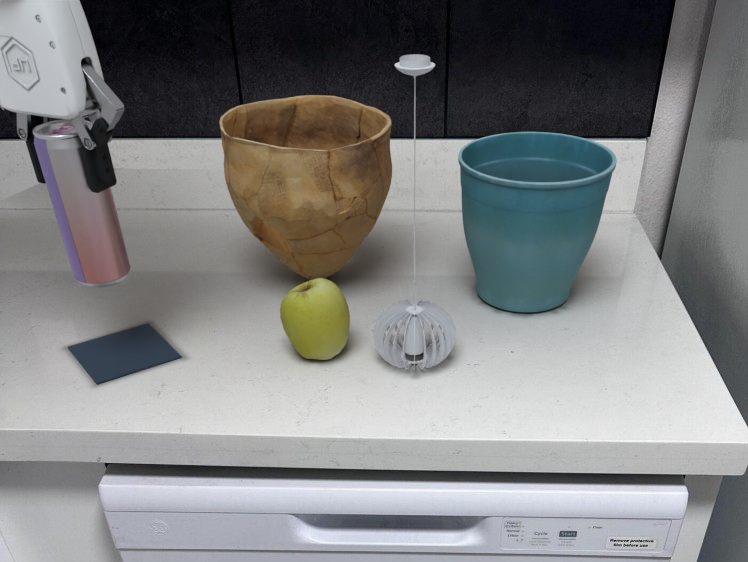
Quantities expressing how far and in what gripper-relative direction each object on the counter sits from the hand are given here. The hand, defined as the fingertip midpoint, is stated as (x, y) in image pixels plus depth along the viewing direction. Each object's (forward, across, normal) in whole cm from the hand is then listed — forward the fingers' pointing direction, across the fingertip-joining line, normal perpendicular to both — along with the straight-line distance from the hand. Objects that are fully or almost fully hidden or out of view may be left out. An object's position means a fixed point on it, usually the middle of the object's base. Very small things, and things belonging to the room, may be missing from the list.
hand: (77, 182), depth 79 cm
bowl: (+19, +11, +27) cm, 35 cm away
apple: (+19, +20, +10) cm, 30 cm away
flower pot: (+19, +38, +33) cm, 54 cm away
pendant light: (+19, +32, +12) cm, 39 cm away
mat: (+19, 0, 0) cm, 19 cm away
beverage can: (+10, 0, 0) cm, 10 cm away
